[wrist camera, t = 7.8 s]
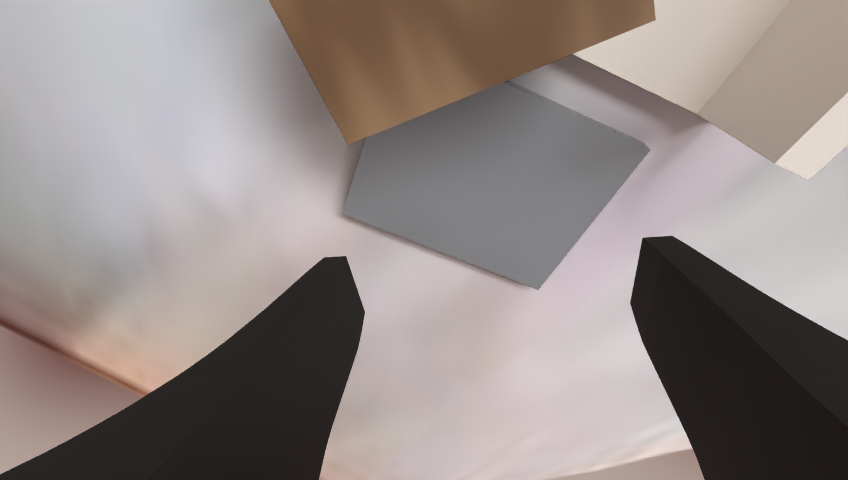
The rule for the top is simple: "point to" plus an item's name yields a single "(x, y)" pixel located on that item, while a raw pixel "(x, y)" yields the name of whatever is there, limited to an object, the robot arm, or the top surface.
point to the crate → (747, 71)
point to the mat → (493, 180)
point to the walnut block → (436, 49)
